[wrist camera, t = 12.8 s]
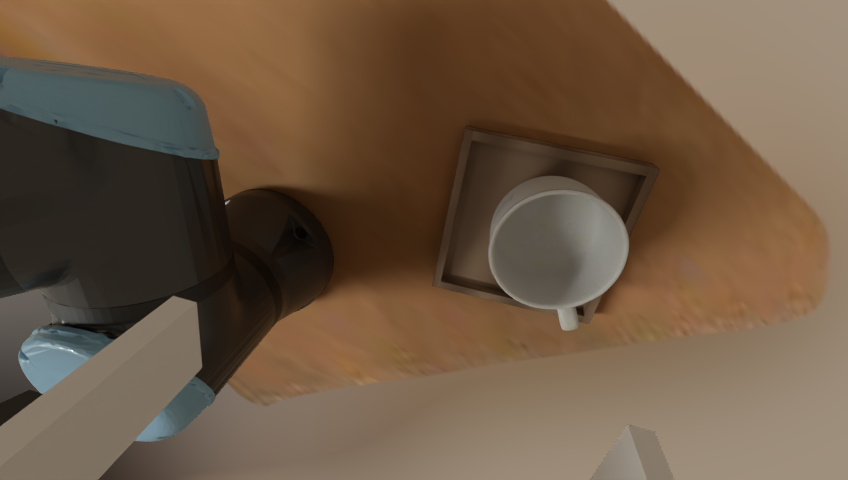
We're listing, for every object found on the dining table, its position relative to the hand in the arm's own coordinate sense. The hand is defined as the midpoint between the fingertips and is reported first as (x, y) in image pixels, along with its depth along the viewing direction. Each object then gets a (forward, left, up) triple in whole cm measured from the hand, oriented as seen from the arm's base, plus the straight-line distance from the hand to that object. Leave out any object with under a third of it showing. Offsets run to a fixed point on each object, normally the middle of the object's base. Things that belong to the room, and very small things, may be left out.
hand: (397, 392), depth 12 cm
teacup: (+9, -5, -29) cm, 31 cm away
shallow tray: (+7, -5, -29) cm, 30 cm away
